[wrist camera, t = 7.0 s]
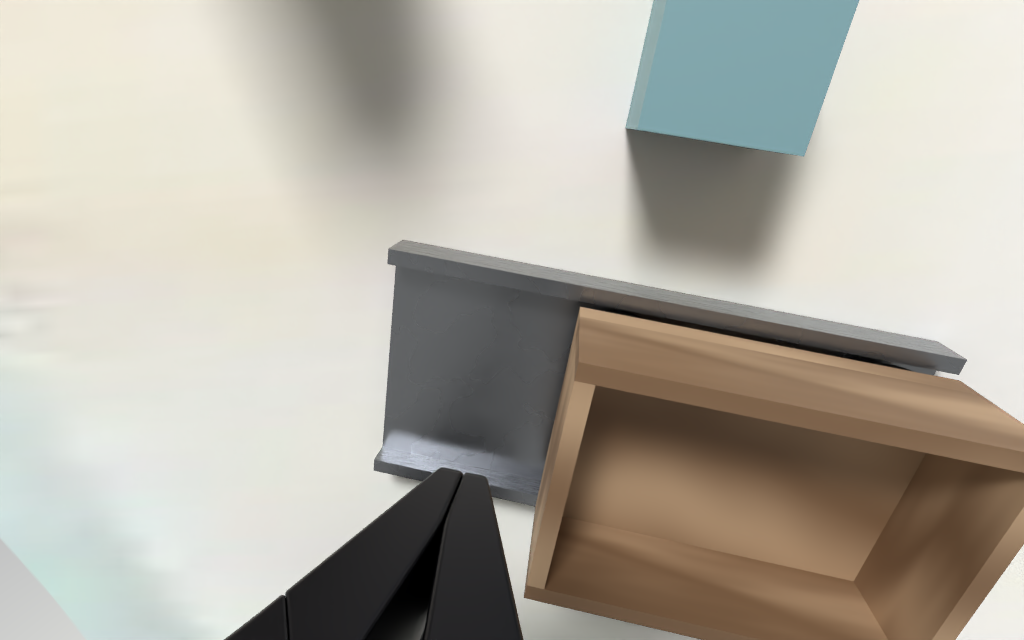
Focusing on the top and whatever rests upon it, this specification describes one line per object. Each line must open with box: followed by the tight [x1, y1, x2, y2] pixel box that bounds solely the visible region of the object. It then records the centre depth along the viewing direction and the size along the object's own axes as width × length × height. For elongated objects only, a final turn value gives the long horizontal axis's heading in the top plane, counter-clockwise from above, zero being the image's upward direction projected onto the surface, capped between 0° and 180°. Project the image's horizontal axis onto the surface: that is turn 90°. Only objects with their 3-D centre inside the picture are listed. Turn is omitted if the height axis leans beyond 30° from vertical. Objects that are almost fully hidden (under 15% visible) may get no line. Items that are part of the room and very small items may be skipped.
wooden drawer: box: [524, 307, 1024, 640], centre depth 18 cm, size 9×13×6 cm
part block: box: [626, 0, 859, 156], centre depth 15 cm, size 4×4×4 cm
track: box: [374, 240, 967, 506], centre depth 21 cm, size 10×21×2 cm, turn 81°
